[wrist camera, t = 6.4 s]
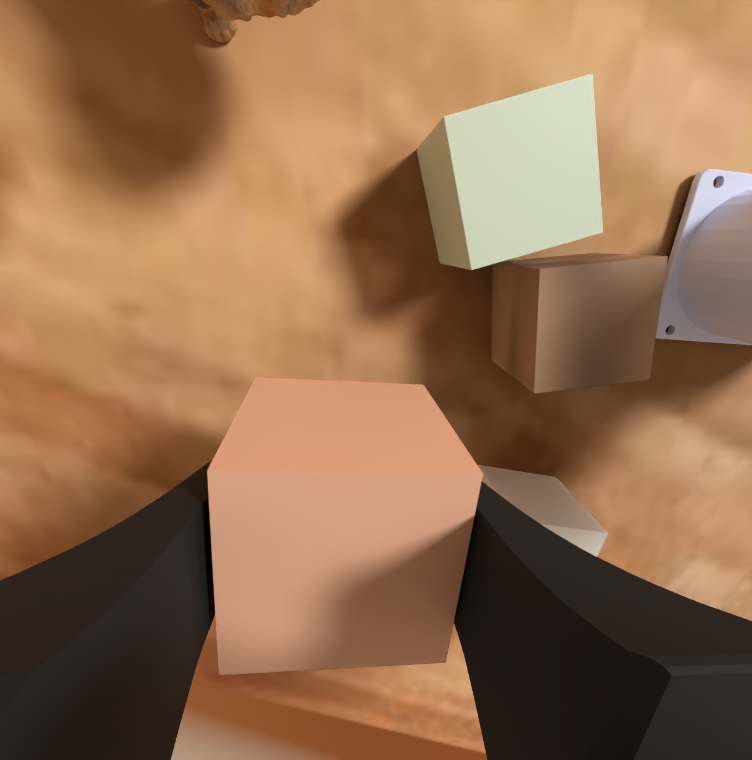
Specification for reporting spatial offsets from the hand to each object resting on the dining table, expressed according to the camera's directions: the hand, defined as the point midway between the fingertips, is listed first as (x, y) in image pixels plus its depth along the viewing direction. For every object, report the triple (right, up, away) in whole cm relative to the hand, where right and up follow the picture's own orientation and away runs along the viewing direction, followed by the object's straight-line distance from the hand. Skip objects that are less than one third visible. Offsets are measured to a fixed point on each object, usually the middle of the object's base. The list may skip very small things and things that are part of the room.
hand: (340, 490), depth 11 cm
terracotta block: (0, +1, +2) cm, 2 cm away
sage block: (+6, +12, +8) cm, 15 cm away
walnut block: (+9, +7, +10) cm, 15 cm away
